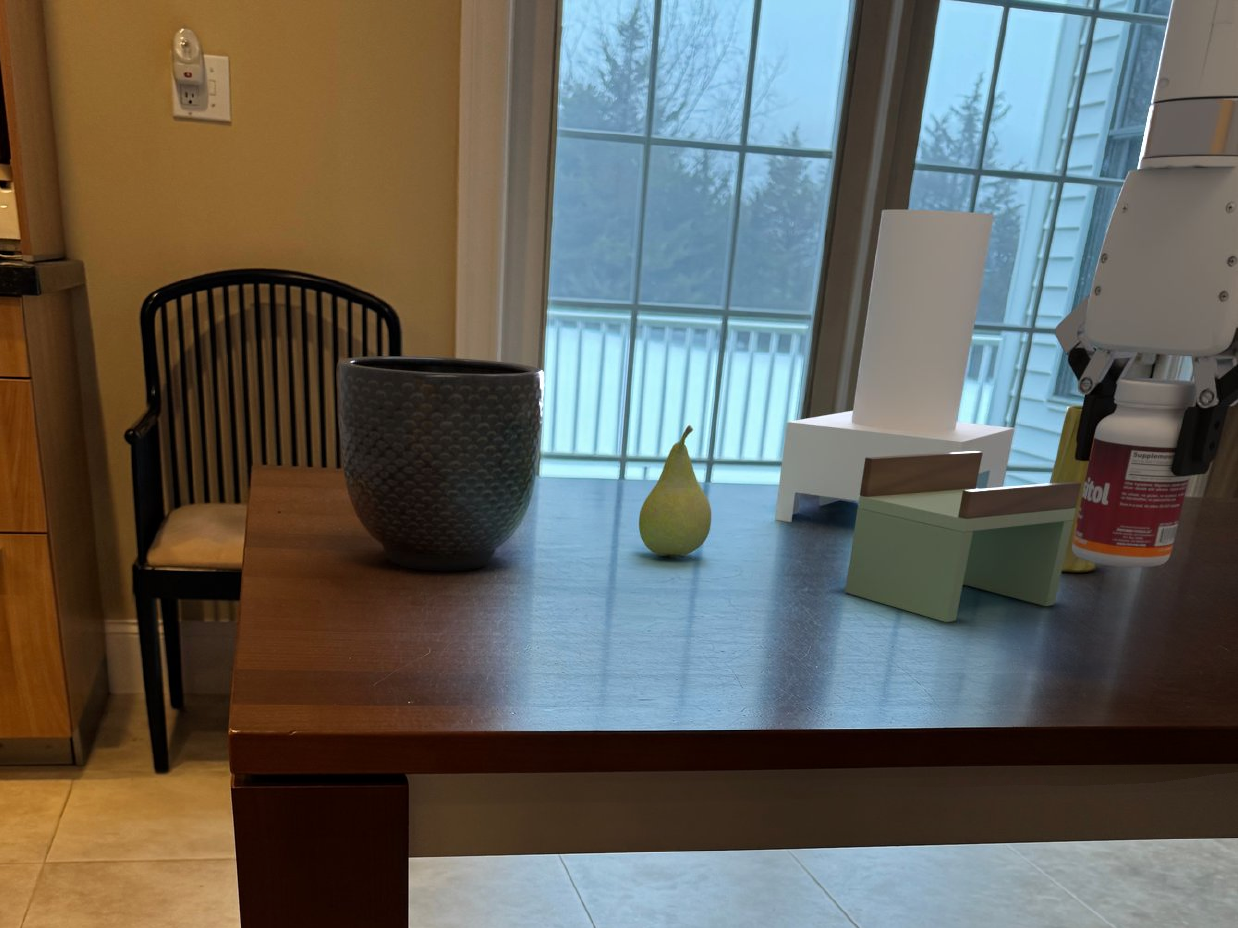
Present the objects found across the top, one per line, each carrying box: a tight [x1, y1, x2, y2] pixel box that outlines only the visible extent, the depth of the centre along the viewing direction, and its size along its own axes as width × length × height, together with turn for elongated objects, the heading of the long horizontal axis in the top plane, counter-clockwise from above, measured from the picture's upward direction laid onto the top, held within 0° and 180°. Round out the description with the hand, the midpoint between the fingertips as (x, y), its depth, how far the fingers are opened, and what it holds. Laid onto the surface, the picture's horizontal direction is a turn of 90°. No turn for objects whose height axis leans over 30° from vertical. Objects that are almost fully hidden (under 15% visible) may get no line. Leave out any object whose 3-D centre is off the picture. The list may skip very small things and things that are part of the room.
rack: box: [844, 451, 1082, 623], centre depth 108 cm, size 11×14×11 cm
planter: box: [336, 355, 545, 572], centre depth 110 cm, size 17×17×16 cm
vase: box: [1049, 405, 1096, 574], centre depth 122 cm, size 6×6×14 cm
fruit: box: [638, 424, 712, 559], centre depth 117 cm, size 7×8×12 cm
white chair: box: [774, 209, 1015, 523], centre depth 136 cm, size 19×19×30 cm
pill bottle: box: [1072, 377, 1197, 568], centre depth 84 cm, size 6×6×11 cm
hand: (1139, 464), depth 83 cm, fingers closed on pill bottle, 6 cm apart
